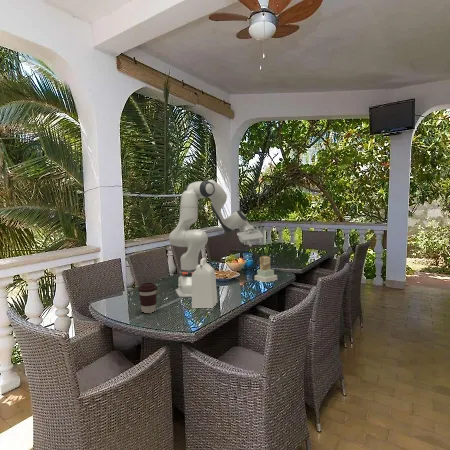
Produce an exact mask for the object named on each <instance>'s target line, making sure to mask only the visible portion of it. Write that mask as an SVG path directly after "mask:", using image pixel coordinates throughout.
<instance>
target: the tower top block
mask: <svg viewBox="0 0 450 450" xmlns="http://www.w3.org/2000/svg"><path fill="white" fill-rule="evenodd" d="M256 271H257V275H258V276H261V277H265V278H266V277H270V276H274V275H275V270H274V269H271V268H270V270H267V271H264V270H260V268H259V269H257V270H256Z"/></svg>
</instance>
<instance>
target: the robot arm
mask: <svg viewBox="0 0 450 450" xmlns="http://www.w3.org/2000/svg"><path fill="white" fill-rule="evenodd" d="M227 196H228V195H227V193H226V191H225V190H224V189H223V187H222V186H221V185H220V184H219V183H218V182H217V181H216V180H214V179H208V180H203V181H202V180H200V181H199V180H198V181H193V182H190V183H188V184H187V185H186V186H185V189H184V191H183V192H182V193H181V197H180V204H179V205H180V207H179V220H178V224H177V225H176V227H175V228H174V229H173V230H172V231H171V232H169V233H170V234H169V236H168V241H169V243H170V244H171V245H172V246H174V247H178V248H187V251H186V252H184V253H182V255H181V256H180V259H179V260H180V270H179V272H180V273H179V274H180V275H179V277H178V283H177V287H178V288H176V289H175V292H176V294H177V295H178V297H179V298H192V273H193V272H194V271H195V270H196V267H197V266H198V265H199V255H200V253H201V250H202V249H203V248H204V247H205V246H206V245H207V244H208V241H209V238H208V237H209V236H208V234H207V232H206V231H204V230H201V229H190V227H191V226H192V225H193V224H195V223H196V222H197V220H198V216H199V215H198V213H199V211H198V210H199V209H198V208H199V205H198V201H199V199H205V198H209V199H210V201H211V205H210V207H211V210H212V211H213V214H214V216H215V217H216V218H217V220H218V222H219V224H220V225H221V226H220V227H221V228H222V230H223V231H224V232H225V233H232V232H233V231H235V229H236V228H238V230H239V231H237V232H236V235H237V237H238V240H239V242H240V243H241V244H246V245H248V246H249V247H250V248H251V247H252V246H253V244H252V243H253V242H258V245H259V246H262V245H263V242H262V241H263V240H264V237H265V236H264V234H263V233H262V231H260V229H259V227H258V226H254V225H251V224H250V223H249V222H248V218H247V216H246V214H245V213H244V211H242V210H235V212H234V211H233V213H232V214H231V215H228V217H225V218H224V217H223V215H222V213H221V211H222V209H223V206H225V204H226V203H227V199H228V197H227Z"/></svg>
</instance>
